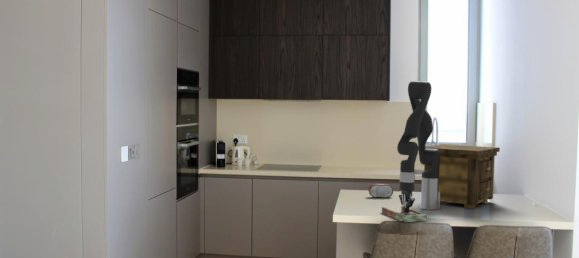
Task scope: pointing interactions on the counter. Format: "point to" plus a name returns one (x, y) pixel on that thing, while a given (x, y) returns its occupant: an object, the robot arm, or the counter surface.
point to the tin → (380, 190)
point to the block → (410, 213)
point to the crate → (465, 173)
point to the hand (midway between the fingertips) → (406, 214)
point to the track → (405, 217)
